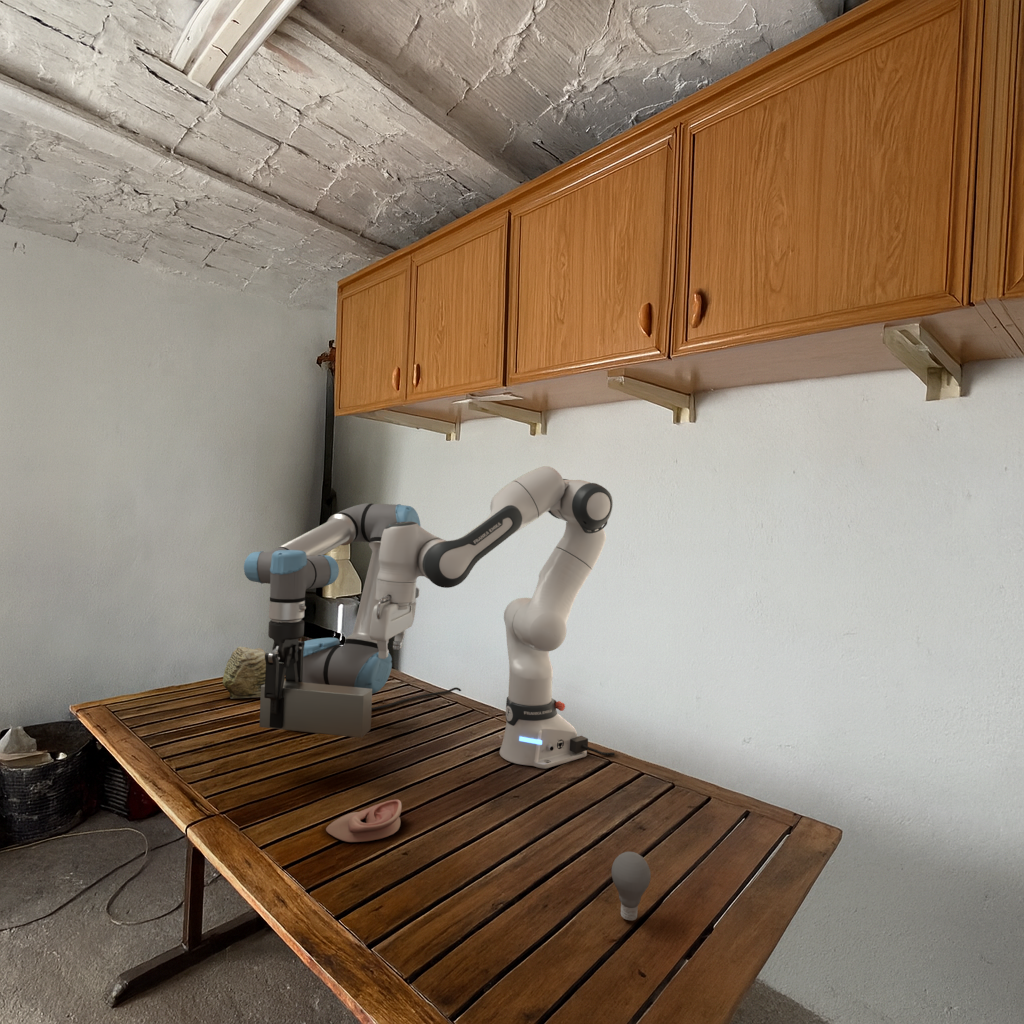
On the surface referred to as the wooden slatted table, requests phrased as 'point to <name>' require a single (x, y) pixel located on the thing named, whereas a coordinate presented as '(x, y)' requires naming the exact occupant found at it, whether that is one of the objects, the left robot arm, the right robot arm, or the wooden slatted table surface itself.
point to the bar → (322, 709)
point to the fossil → (245, 673)
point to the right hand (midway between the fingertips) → (390, 653)
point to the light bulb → (630, 881)
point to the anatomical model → (368, 823)
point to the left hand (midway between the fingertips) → (282, 722)
